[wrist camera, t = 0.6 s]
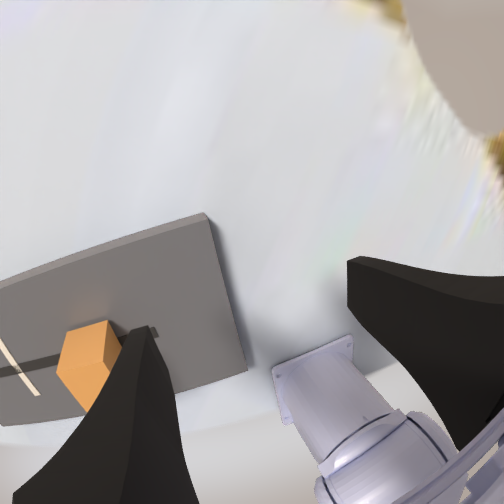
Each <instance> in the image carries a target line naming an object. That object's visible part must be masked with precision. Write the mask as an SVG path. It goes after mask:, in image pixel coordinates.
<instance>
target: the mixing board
mask: <svg viewBox="0 0 504 504" xmlns="http://www.w3.org/2000/svg"><path fill="white" fill-rule="evenodd" d="M106 320H108V322H109V324H110V326H111V328H112V329H113V331H114V333H115V335H116V337H117V339H118V341H119V343H120V345H121V346H122V347H123V345H124V342H125V340H126V338H127V336H128V334H129V332H130V330H132V329H135V328H139V327H143V326H146V325H148V326H149V329H150V331H151V333H152V335H153V338H154V340H155V342H156V344H157V346H158V349H159V351H160V353H161V355H162V357H163V359H164V361H165V363H166V366H167V368H168V370H169V374H170V378H171V382H172V386H173V390H174V394H177V393H180V392H184V391H187V390H190V389H194V388H197V387H200V386H203V385H207V384H210V383H213V382H216V381H219V380H222V379H225V378H228V377H231V376H234V375H237V374H239V373H242V372H245V371H248V368H247V364H246V361H245V357H244V354H243V350H242V347H241V343H240V340H239V336H238V332H237V329H236V325H235V321H234V318H233V314H232V310H231V307H230V303H229V299H228V295H227V292H226V288H225V284H224V280H223V276H222V273H221V269H220V265H219V261H218V257H217V253H216V249H215V245H214V241H213V237H212V233H211V229H210V225H209V221H208V218H207V217H206V215H205V214H204V213H200V214H196V215H193V216H189V217H186V218H183V219H179V220H176V221H173V222H169V223H166V224H163V225H160V226H156V227H153V228H150V229H147V230H143V231H140V232H137V233H134V234H131V235H128V236H125V237H122V238H119V239H116V240H113V241H110V242H107V243H104V244H101V245H98V246H95V247H92V248H89V249H86V250H83V251H80V252H77V253H74V254H72V255H69V256H66V257H63V258H60V259H58V260H55V261H52V262H49V263H47V264H44V265H41V266H39V267H36V268H33V269H31V270H28V271H25V272H23V273H20V274H18V275H15V276H13V277H10V278H8V279H5V280H2V281H0V424H1V425H2V426H13V425H23V424H32V423H40V422H47V421H54V420H61V419H67V418H73V417H79V416H84V415H86V414H87V412H86V411H85V410H84V408H83V407H82V406H81V405H80V403H79V402H78V401H77V400H76V399H75V397H74V396H73V395H72V393H71V392H70V391H69V390H68V388H67V387H66V386H65V384H64V383H63V382H62V380H61V379H60V378H59V376H58V375H57V373H56V371H57V367H58V363H59V359H60V355H61V351H62V348H63V344H64V340H65V337H66V333H67V332H68V331H72V330H75V329H79V328H82V327H85V326H89V325H92V324H96V323H99V322H102V321H106Z"/></svg>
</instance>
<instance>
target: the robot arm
mask: <svg viewBox="0 0 504 504" xmlns="http://www.w3.org/2000/svg"><path fill="white" fill-rule="evenodd" d="M347 307H348V308H349V309H350V311H351V312H352V313H353V315H354V316H355V318H356V319H357V320H358V321H359V323H360V324H361V325H362V326H363V327H364V328H365V329H366V330H367V331H368V332H369V333H370V334H371V335H372V336H373V337H374V338H375V339H376V340H377V341H378V342H379V343H380V344H381V345H382V346H383V347H384V348H386V349H387V350H388V351H389V352H390V353H391V354H392V355H393V356H394V357H395V358H396V359H397V360H398V361H399V362H400V363H401V364H402V365H403V366H404V367H405V368H406V370H407V371H408V372H409V374H410V375H411V376H412V377H413V379H414V380H415V381H416V382H417V384H418V385H419V386H420V388H421V389H422V390H423V392H424V393H425V395H426V396H427V398H428V399H429V400H430V402H431V403H432V405H433V406H434V408H435V410H436V411H437V413H438V414H439V416H440V418H441V419H442V421H443V423H444V425H445V427H446V429H447V430H448V432H449V434H450V436H451V438H452V440H453V442H454V444H455V446H454V445H453V443H452V441H451V440H450V439H449V437H448V436H447V435H446V433H445V432H444V431H443V430H442V429H441V427H440V426H438V424H437V423H436V422H435V421H434V420H432V419H431V418H430V417H429V416H428V415H426V414H424V413H422V412H414V411H411V412H409V413H408V414H407V415H406V416H405V415H404V414H403V413H402V412H401V411H400V409H397V410H394V409H393V408H392V407H391V406H390V405H389V404H388V403H387V402H386V400H385V399H384V398H383V397H382V396H381V395H380V394H379V393H378V391H376V389H375V388H374V387H373V386H372V385H371V384H370V383H369V381H368V380H367V379H366V378H365V377H364V376H363V375H362V374H361V372H360V371H359V370H358V369H357V368H356V367H355V366H354V365H353V364H352V360H353V339H354V338H353V336H352V335H350V334H349V335H346V336H344V337H342V338H340V339H337V340H335V341H333V342H331V343H329V344H326V345H324V346H322V347H320V348H317V349H315V350H313V351H310V352H308V353H306V354H303V355H301V356H299V357H296V358H294V359H291V360H289V361H286V362H284V363H281V364H279V365H276V366H274V367H273V368H272V370H271V372H272V377H273V382H274V386H275V391H276V396H277V400H278V405H279V409H280V414H281V419H282V423H283V424H284V425H289V424H291V423H294V425H295V426H296V428H297V430H298V432H299V433H300V435H301V437H302V438H303V440H304V442H305V443H306V445H307V447H308V448H309V450H310V452H311V454H312V455H313V457H314V459H315V460H316V461H317V462H318V463H319V465H318V466H317V467H318V469H319V470H320V472H321V474H322V476H320V477H318V478H317V479H316V484H315V488H314V492H315V496H316V498H317V501H318V503H319V504H458V503H459V500H460V498H461V495H462V493H463V490H464V487H465V486H466V487H467V489H468V490H469V491H470V492H471V494H470V495H469V496H468V497H466V499H464V500H463V501H462V502H461V503H460V504H504V276H493V277H490V276H466V275H457V274H448V273H442V272H436V271H431V270H426V269H421V268H416V267H412V266H407V265H403V264H399V263H394V262H390V261H386V260H381V259H376V258H371V257H365V256H359V257H356V258H353V259H351V260H348V261H347ZM498 440H499V441H498ZM497 441H498V446H499V448H498V450H497V451H496V453H495V454H494V455H493V456H492V457H491V458H490V459H489V460H488V461H487V462H486V463H485V464H484V466H482V468H481V469H480V470H479V471H478V472H477V473H476V474H474V475H473V476H472V477H471V478H470V479H469V480H468V481H467V478H468V473H467V471H468V470H470V469H471V468H472V467H473V466H474V465H475V464H476V463H477V462H478V461H479V460H480V459H481V458H482V457H483V456H484V455H485V454H486V453H487V452H488V451H489V450H490V449H491V448H492V447H493V446H494V444H495V443H496V442H497ZM455 447H456V448H457V449H458V450H459V451H460V452H459V453H458V454H457V451H456V448H455ZM12 504H199V501H198V498H197V496H196V493H195V490H194V487H193V484H192V481H191V478H190V475H189V472H188V469H187V465H186V462H185V458H184V454H183V449H182V443H181V436H180V430H179V423H178V416H177V409H176V401H175V394H174V390H173V386H172V382H171V378H170V374H169V370H168V368H167V366H166V363H165V361H164V359H163V357H162V355H161V353H160V351H159V349H158V346H157V344H156V342H155V340H154V338H153V335H152V333H151V331H150V329H149V326H148V325H146V326H143V327H139V328H135V329H132V330H130V332H129V334H128V336H127V338H126V340H125V342H124V345H123V347H122V349H121V351H120V353H119V355H118V357H117V360H116V362H115V364H114V366H113V368H112V370H111V372H110V374H109V376H108V378H107V380H106V382H105V384H104V385H103V387H102V389H101V391H100V393H99V395H98V396H97V398H96V400H95V402H94V403H93V405H92V406H91V408H90V409H89V411H88V412H87V414H86V415H85V417H84V418H83V420H82V421H81V423H80V424H79V426H78V427H77V428H76V429H75V431H74V432H73V433H72V434H71V436H70V437H69V438H68V440H67V441H66V442H65V443H64V445H63V446H62V447H61V448H60V450H59V451H58V452H57V453H56V454H55V455H54V456H53V457H52V459H50V460H49V461H48V463H47V464H46V465H45V466H44V467H43V468H42V469H41V470H39V472H37V473H36V474H35V475H34V476H33V477H32V478H31V479H29V480H28V481H27V482H26V483H25V484H24V485H22V486H21V487H20V488H19V489H18V490H16V491H15V492H14V493H13V500H12Z"/></svg>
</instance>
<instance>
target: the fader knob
mask: <svg viewBox="0 0 504 504" xmlns="http://www.w3.org/2000/svg"><path fill="white" fill-rule="evenodd" d="M121 349H122V346H121V345H120V343H119V341H118V339H117V337H116V335H115V333H114V331H113V329H112V328H111V326H110V324H109V322H108V320H106V321H102V322H99V323H96V324H92V325H89V326H85V327H82V328H79V329H75V330H72V331H68V332H67V333H66V337H65V340H64V344H63V348H62V351H61V355H60V359H59V363H58V367H57V371H56V373H57V375H58V376H59V378H60V379H61V380H62V382H63V383H64V384H65V386H66V387H67V388H68V390H69V391H70V392H71V393H72V395H73V396H74V397H75V399H76V400H77V401H78V402H79V403H80V405H81V406H82V407H83V408H84V410H85V411H86V412H88V411H89V409H90V408H91V406H92V405H93V403H94V402H95V400H96V398H97V396H98V395H99V393H100V391H101V389H102V387H103V385H104V384H105V382H106V380H107V378H108V376H109V374H110V372H111V370H112V368H113V366H114V364H115V362H116V360H117V357H118V355H119V353H120V351H121Z"/></svg>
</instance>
